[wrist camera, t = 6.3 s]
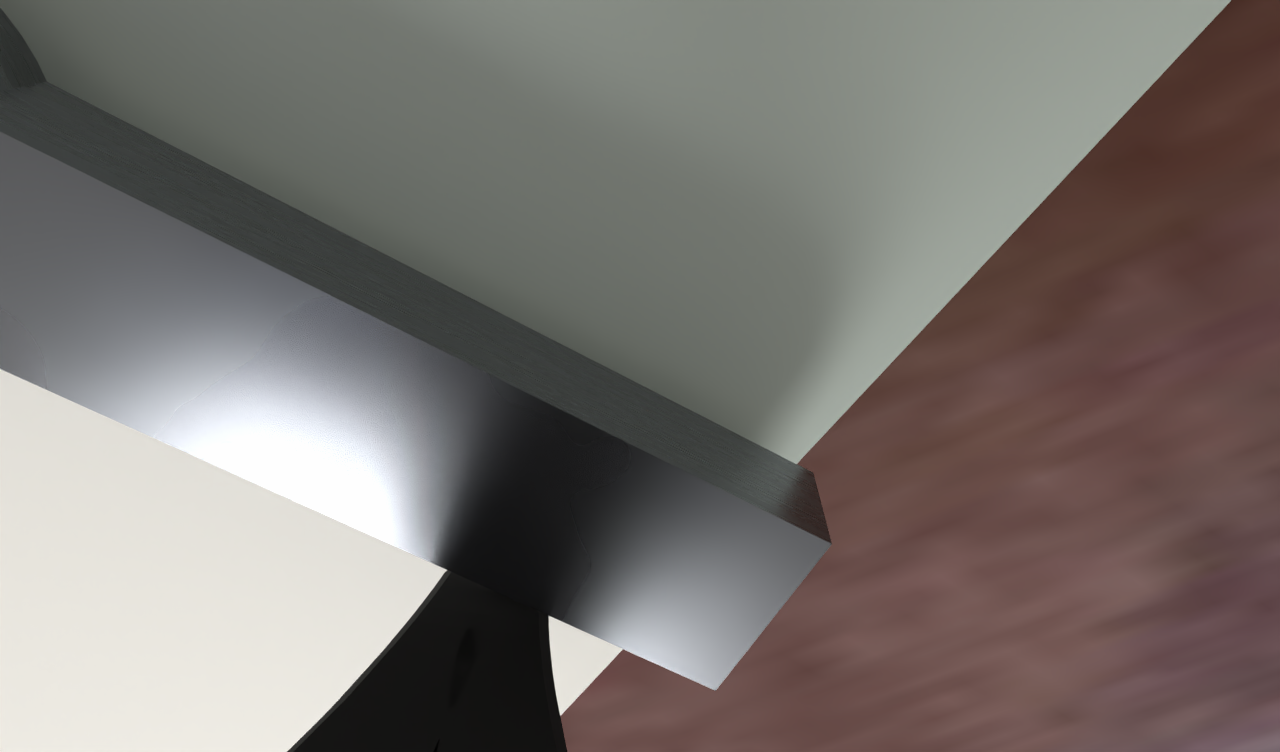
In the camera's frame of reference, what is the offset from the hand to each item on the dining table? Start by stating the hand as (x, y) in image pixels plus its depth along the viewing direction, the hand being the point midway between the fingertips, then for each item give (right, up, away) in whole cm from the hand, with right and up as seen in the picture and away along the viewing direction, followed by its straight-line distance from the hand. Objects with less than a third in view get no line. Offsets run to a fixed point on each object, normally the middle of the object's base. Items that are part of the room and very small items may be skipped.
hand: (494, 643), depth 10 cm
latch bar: (-2, +3, -1) cm, 4 cm away
